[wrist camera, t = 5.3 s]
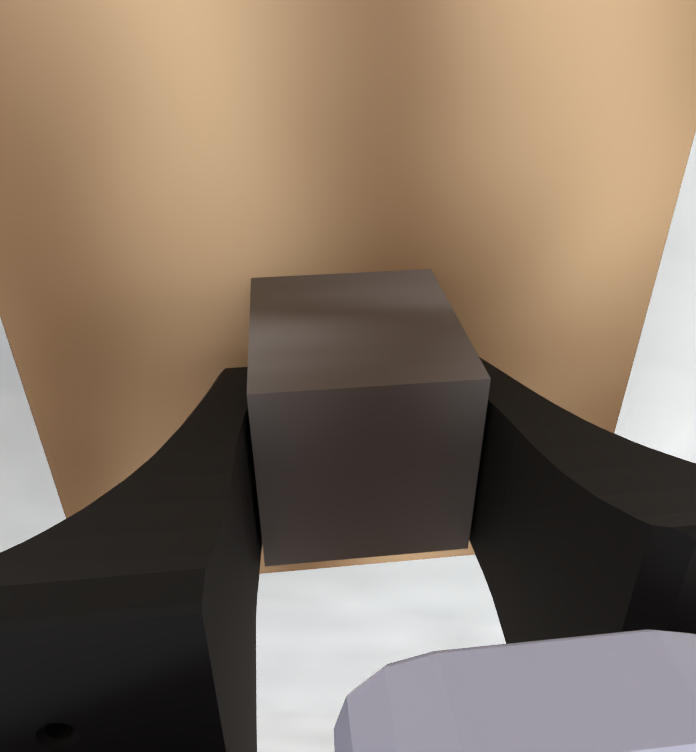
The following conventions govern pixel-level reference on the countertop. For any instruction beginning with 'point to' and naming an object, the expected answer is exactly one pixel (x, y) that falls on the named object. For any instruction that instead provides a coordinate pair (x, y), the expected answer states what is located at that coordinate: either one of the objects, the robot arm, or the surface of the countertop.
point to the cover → (332, 236)
